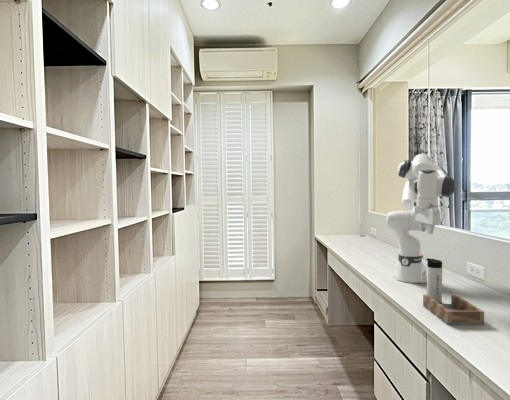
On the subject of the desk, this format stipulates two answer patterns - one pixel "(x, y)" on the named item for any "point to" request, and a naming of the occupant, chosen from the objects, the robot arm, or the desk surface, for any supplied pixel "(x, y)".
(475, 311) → the u rest
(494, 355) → the desk surface
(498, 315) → the desk surface
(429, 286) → the travel mug
